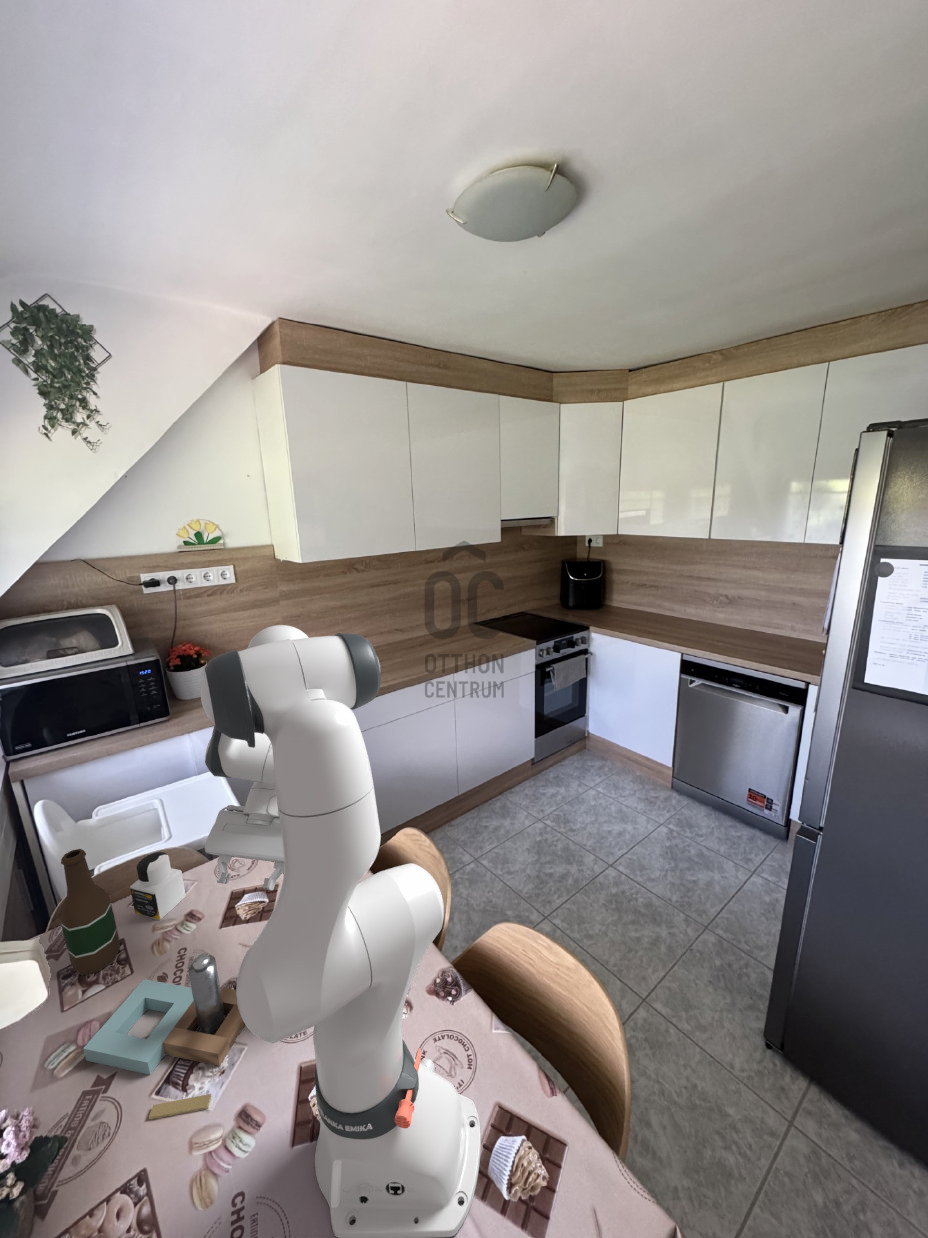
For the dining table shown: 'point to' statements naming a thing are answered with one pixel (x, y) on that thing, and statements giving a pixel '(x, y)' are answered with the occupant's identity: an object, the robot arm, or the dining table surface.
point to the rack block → (112, 1038)
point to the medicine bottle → (157, 886)
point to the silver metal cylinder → (206, 993)
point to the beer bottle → (87, 918)
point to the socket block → (202, 1045)
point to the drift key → (180, 1106)
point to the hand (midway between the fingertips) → (244, 886)
